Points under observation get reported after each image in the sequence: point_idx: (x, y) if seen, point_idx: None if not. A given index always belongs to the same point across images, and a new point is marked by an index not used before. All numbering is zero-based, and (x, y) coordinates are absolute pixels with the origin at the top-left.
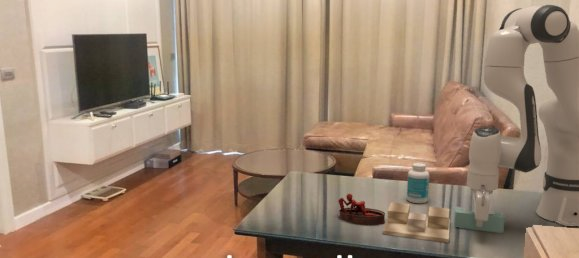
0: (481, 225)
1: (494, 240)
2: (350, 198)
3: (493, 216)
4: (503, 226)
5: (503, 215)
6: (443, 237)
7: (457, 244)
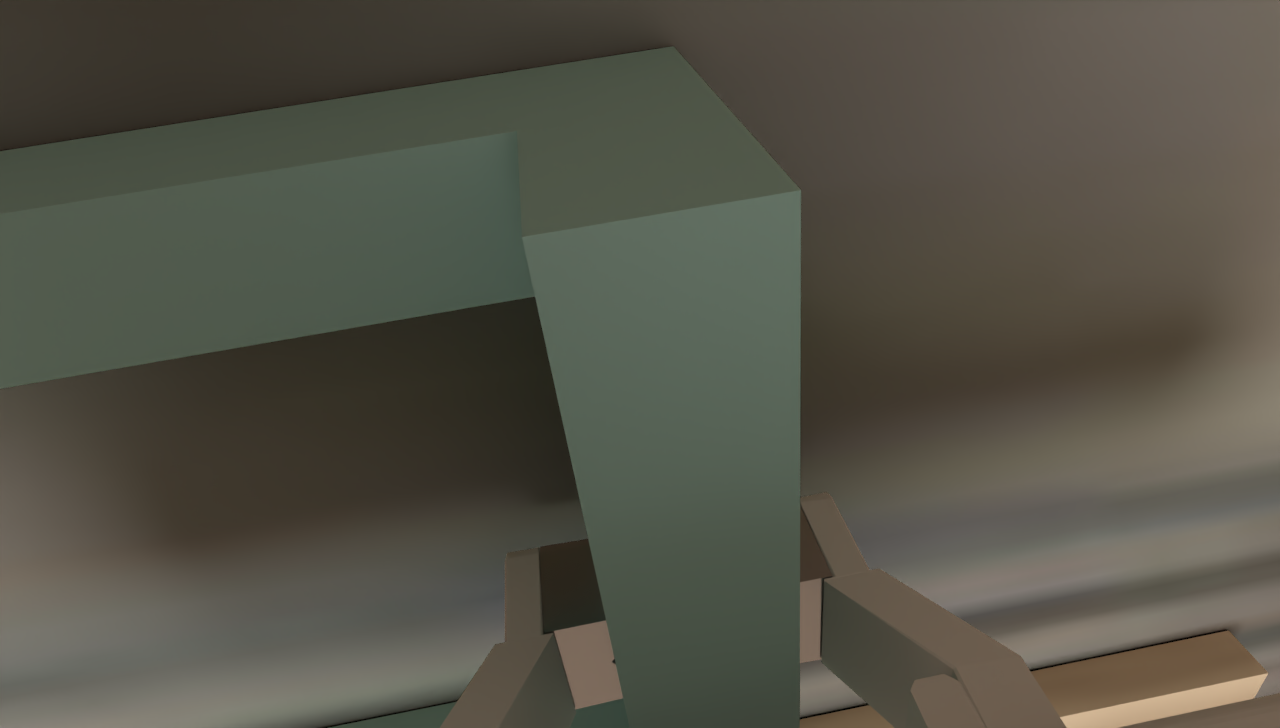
0: (831, 514)
1: (1097, 181)
2: None
3: (799, 507)
4: (713, 102)
5: (543, 260)
6: None
7: (1264, 562)
